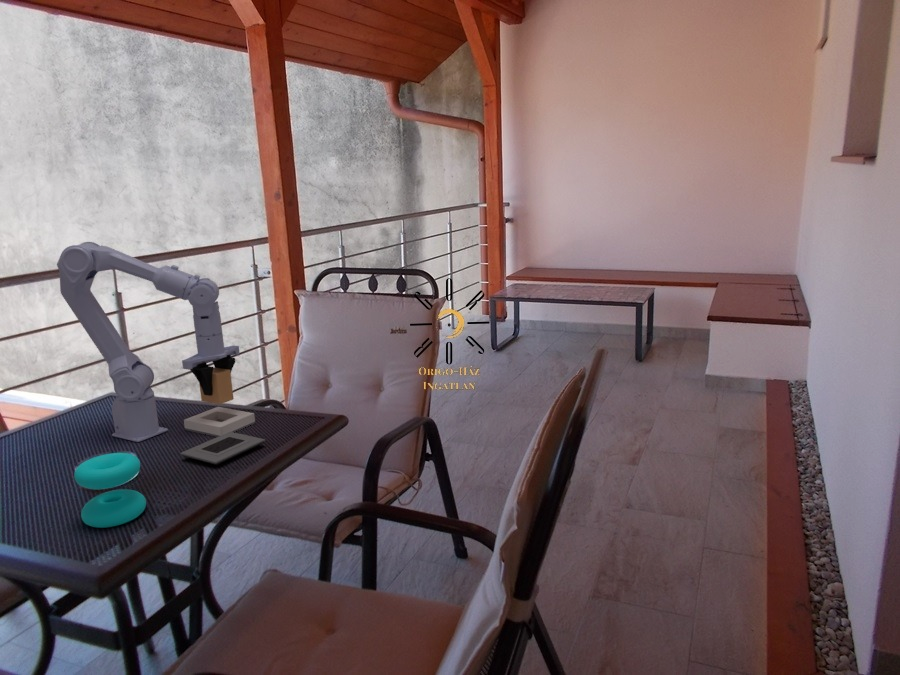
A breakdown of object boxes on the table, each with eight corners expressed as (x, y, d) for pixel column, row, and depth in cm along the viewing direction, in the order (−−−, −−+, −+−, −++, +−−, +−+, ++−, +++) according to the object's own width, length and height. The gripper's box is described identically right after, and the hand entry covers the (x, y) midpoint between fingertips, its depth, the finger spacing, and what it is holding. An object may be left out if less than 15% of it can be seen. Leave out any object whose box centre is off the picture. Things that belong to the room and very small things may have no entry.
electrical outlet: (231, 440, 151) (230, 430, 151) (266, 448, 146) (264, 437, 146) (181, 462, 141) (179, 451, 140) (216, 472, 135) (215, 460, 135)
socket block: (185, 430, 158) (183, 419, 157) (219, 416, 166) (218, 406, 166) (221, 438, 152) (220, 427, 151) (255, 423, 160) (254, 413, 160)
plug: (201, 401, 157) (197, 371, 156) (215, 396, 161) (211, 367, 159) (219, 404, 154) (216, 374, 153) (233, 399, 158) (230, 369, 156)
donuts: (88, 479, 108) (62, 464, 115) (98, 537, 111) (72, 519, 117) (149, 458, 116) (122, 445, 122) (158, 513, 118) (130, 497, 124)
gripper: (194, 342, 146) (202, 403, 149) (246, 328, 158) (252, 385, 161) (172, 339, 150) (180, 399, 153) (224, 326, 162) (231, 381, 165)
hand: (216, 392), depth 157 cm, fingers closed on plug, 4 cm apart
